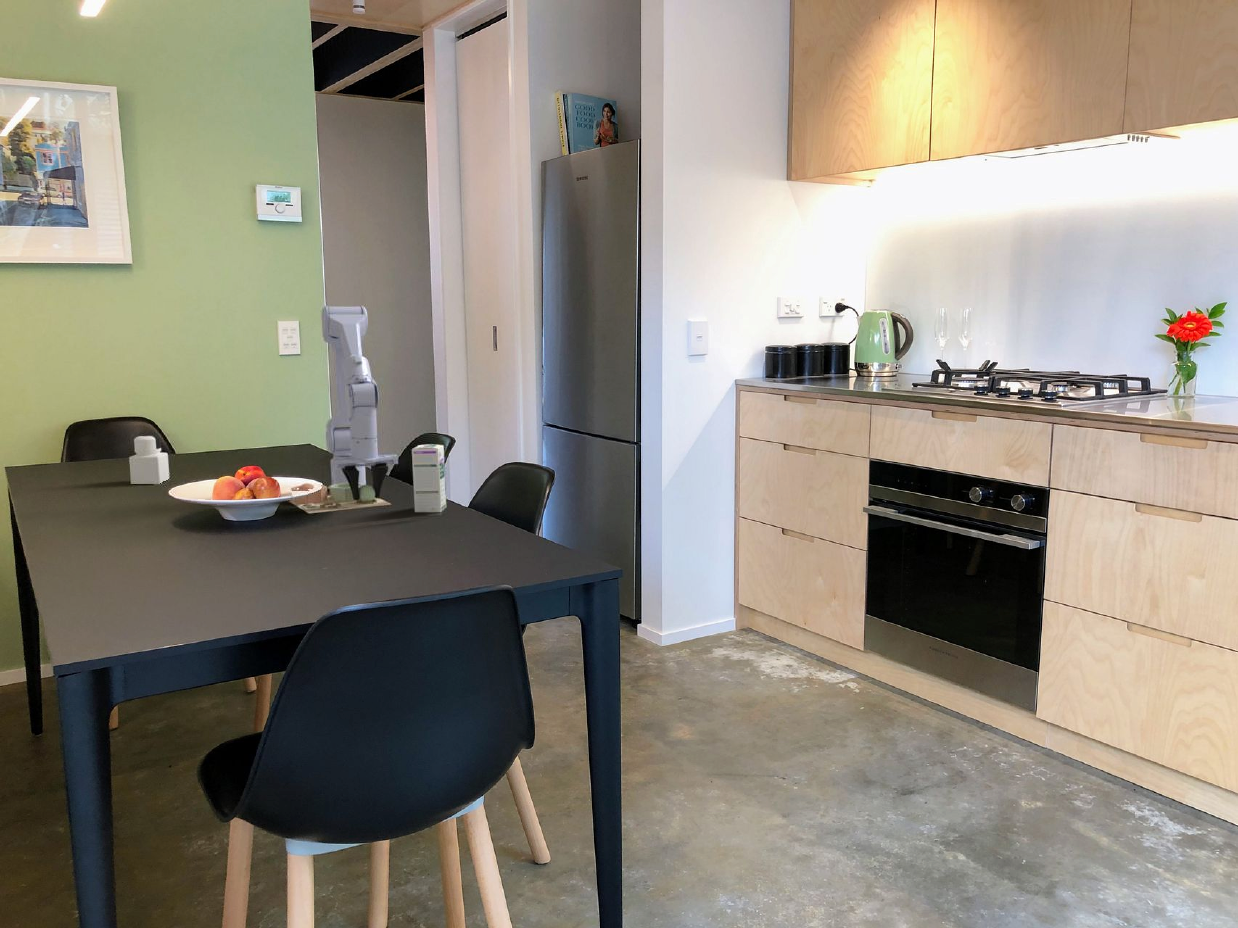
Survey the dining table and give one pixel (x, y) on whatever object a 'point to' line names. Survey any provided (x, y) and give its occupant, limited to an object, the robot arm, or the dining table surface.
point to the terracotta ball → (306, 486)
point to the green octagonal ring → (342, 492)
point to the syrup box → (429, 478)
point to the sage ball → (366, 493)
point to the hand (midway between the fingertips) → (366, 498)
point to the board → (339, 505)
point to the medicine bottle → (148, 461)
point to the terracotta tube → (311, 496)
